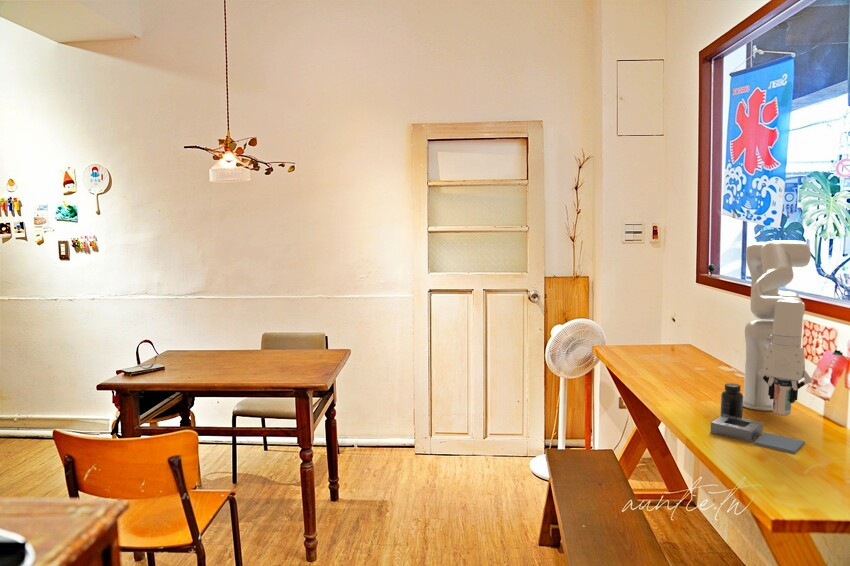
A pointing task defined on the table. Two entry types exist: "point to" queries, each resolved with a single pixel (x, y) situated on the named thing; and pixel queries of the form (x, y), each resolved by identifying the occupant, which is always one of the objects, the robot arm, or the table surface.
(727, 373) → the table surface
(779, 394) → the beer can
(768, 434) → the mat
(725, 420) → the gray square frame
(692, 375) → the table surface
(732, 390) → the supplement bottle
